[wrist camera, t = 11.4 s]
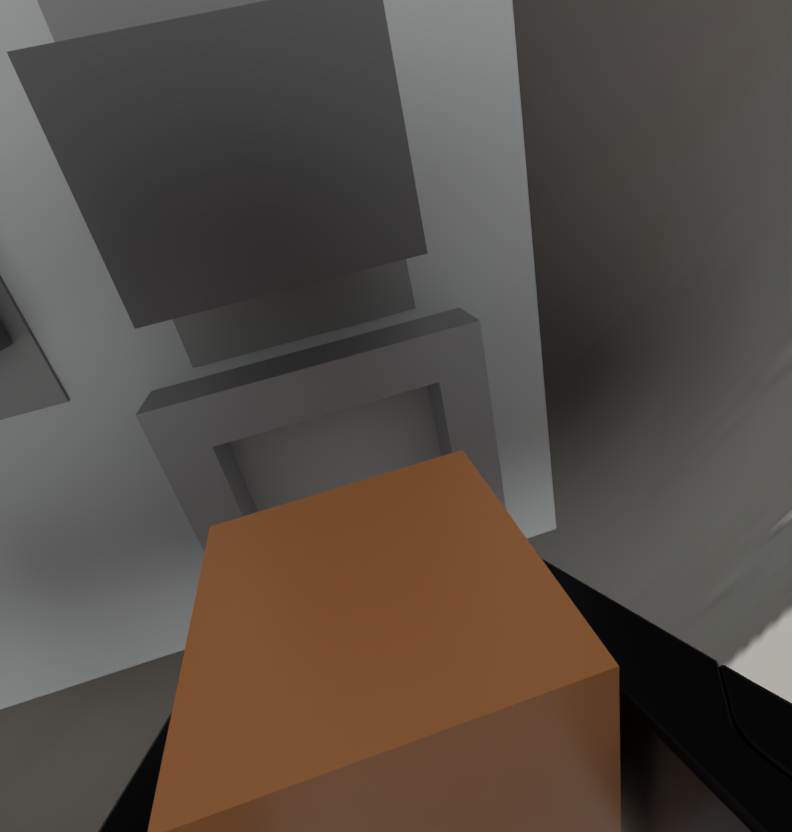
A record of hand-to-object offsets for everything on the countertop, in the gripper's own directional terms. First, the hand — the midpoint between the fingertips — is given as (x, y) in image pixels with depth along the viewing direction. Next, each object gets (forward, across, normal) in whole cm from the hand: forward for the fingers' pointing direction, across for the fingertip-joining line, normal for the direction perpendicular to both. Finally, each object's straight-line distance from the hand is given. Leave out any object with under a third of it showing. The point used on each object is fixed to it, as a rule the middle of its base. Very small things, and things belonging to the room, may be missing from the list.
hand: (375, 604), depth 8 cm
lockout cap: (0, 0, 0) cm, 0 cm away
